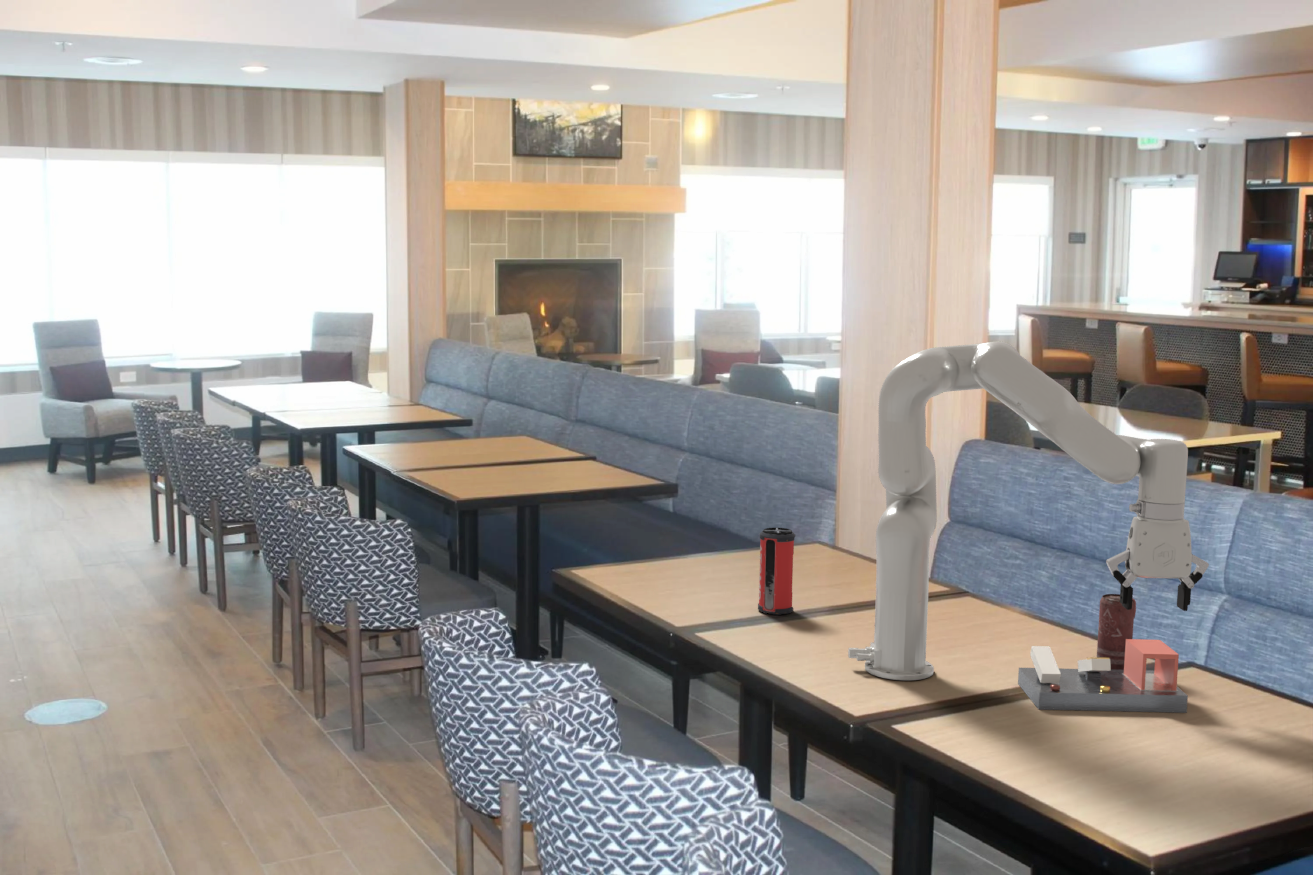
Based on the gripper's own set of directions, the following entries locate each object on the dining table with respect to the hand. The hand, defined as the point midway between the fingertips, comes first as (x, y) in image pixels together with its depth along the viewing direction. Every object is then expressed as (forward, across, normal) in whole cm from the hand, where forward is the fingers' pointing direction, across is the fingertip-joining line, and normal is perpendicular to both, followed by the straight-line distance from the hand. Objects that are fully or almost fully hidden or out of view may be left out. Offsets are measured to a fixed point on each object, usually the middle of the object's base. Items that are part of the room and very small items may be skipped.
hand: (1154, 608), depth 226 cm
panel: (+16, -8, 0) cm, 18 cm away
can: (+16, 0, +17) cm, 24 cm away
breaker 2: (+11, -10, +1) cm, 14 cm away
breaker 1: (+11, -18, +1) cm, 21 cm away
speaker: (+16, -62, +55) cm, 84 cm away
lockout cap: (+13, 0, 0) cm, 13 cm away
